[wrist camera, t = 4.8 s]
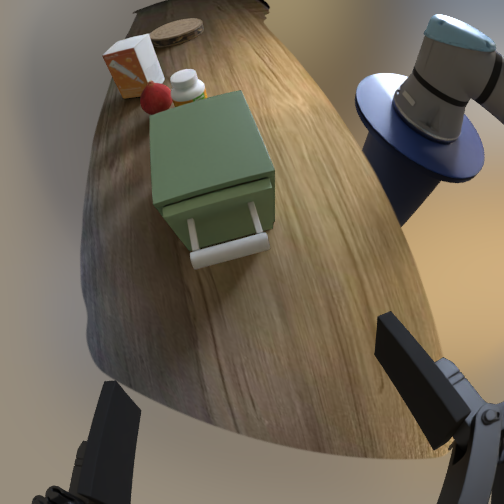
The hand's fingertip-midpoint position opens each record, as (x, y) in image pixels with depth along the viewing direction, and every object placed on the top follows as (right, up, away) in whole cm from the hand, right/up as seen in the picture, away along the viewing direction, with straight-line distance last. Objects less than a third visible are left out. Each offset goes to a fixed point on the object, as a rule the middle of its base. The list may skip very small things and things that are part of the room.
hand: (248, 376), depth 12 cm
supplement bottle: (-9, +28, +30) cm, 42 cm away
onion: (-16, +31, +32) cm, 47 cm away
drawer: (-3, +11, +22) cm, 25 cm away
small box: (-23, +41, +36) cm, 59 cm away
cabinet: (-4, +14, +24) cm, 29 cm away
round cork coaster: (-22, +69, +46) cm, 86 cm away
